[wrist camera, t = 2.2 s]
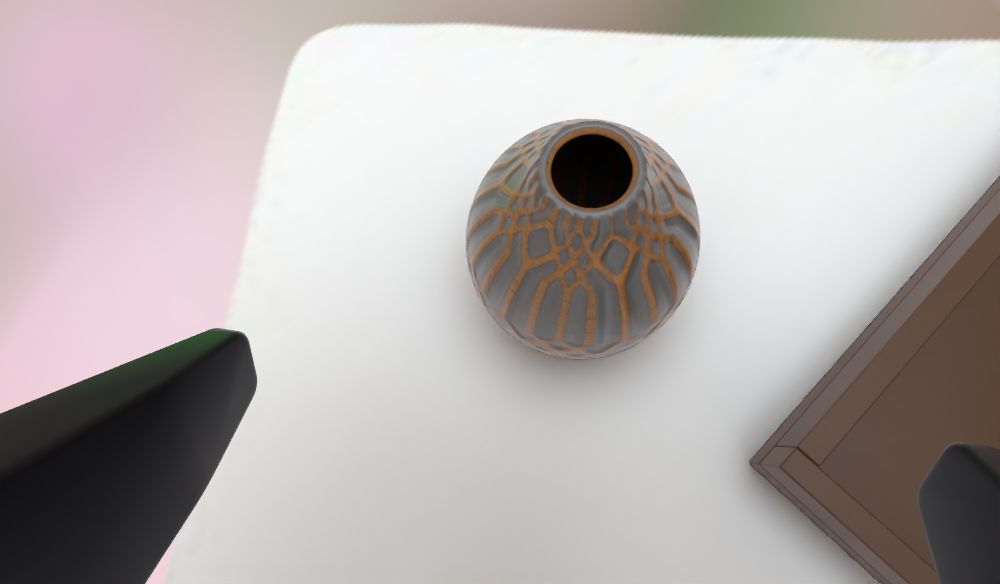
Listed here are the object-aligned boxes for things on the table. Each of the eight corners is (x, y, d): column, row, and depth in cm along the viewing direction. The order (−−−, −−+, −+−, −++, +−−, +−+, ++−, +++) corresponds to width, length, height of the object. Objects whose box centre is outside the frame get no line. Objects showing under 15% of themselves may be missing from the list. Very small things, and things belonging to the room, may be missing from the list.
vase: (443, 286, 21) (371, 187, 12) (562, 157, 22) (571, -18, 13) (586, 411, 19) (616, 395, 11) (708, 266, 20) (824, 146, 12)
